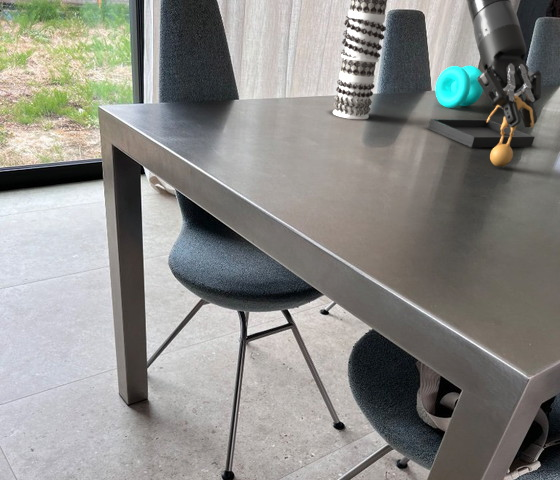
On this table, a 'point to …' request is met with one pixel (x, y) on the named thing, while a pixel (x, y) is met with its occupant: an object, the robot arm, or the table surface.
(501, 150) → the figurine
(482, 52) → the robot arm
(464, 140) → the base pad
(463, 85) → the donuts
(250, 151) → the table surface
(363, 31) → the decorative candle
